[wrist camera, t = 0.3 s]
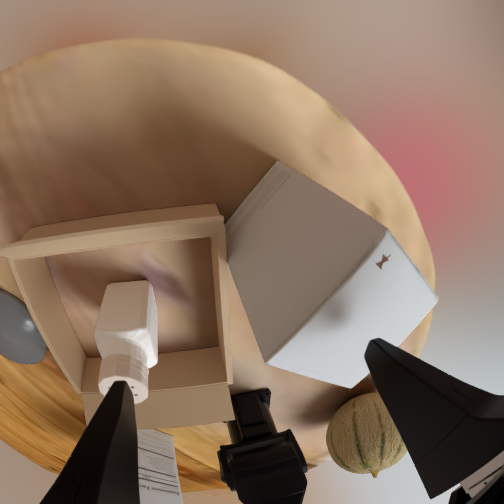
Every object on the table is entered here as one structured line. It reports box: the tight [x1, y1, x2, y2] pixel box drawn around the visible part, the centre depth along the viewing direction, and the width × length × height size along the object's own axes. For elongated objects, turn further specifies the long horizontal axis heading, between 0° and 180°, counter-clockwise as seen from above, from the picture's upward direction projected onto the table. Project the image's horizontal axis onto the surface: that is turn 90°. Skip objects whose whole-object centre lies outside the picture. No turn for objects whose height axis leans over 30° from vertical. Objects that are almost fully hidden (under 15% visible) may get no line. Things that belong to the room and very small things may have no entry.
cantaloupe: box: [326, 392, 407, 478], centre depth 36 cm, size 15×15×15 cm
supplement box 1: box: [137, 429, 183, 504], centre depth 26 cm, size 9×9×15 cm
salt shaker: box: [94, 280, 158, 404], centre depth 18 cm, size 4×4×10 cm
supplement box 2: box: [225, 161, 438, 389], centre depth 17 cm, size 7×7×13 cm
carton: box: [0, 203, 235, 430], centre depth 19 cm, size 19×15×7 cm
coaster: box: [0, 289, 47, 364], centre depth 20 cm, size 10×10×1 cm
